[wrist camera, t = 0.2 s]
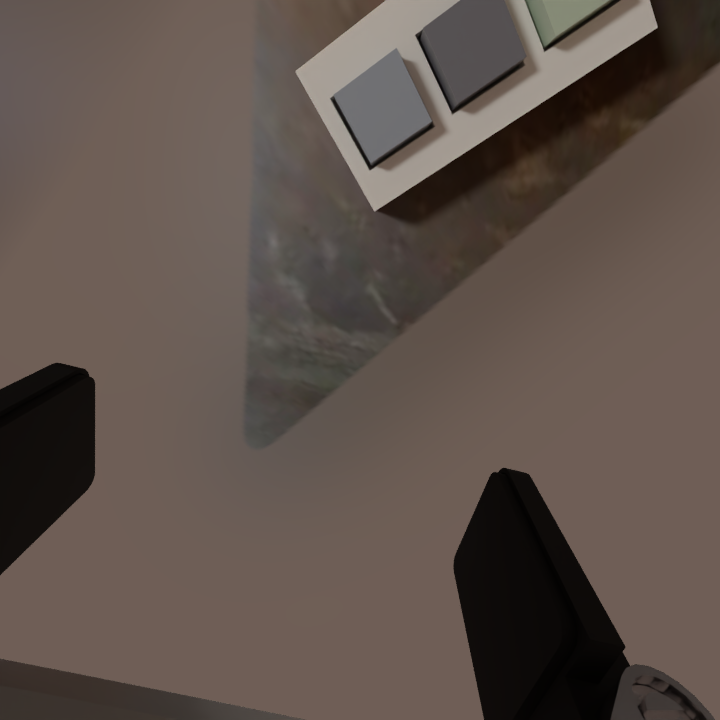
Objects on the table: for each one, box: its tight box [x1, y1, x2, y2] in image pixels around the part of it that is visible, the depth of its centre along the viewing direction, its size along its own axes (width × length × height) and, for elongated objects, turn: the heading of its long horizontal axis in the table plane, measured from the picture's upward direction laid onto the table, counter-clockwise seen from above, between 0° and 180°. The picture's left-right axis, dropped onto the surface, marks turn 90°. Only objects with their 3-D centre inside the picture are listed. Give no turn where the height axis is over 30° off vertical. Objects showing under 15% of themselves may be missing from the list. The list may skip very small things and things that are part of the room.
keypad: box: [295, 0, 658, 212], centre depth 30 cm, size 22×11×4 cm, turn 122°
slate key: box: [334, 48, 432, 166], centre depth 29 cm, size 5×5×3 cm
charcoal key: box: [419, 0, 527, 112], centre depth 28 cm, size 5×5×3 cm
